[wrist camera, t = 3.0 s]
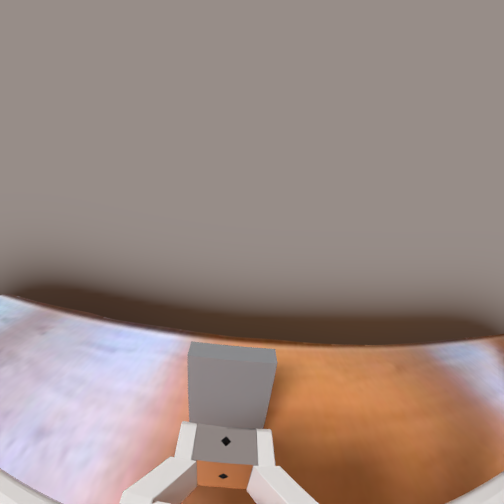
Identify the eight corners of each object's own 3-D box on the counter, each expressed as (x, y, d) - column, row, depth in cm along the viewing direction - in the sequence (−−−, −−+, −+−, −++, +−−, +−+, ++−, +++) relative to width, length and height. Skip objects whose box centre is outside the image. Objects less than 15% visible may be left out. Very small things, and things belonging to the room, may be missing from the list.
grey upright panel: (259, 443, 24) (277, 363, 21) (190, 437, 24) (187, 355, 21) (258, 427, 27) (274, 347, 24) (193, 421, 26) (192, 339, 23)
